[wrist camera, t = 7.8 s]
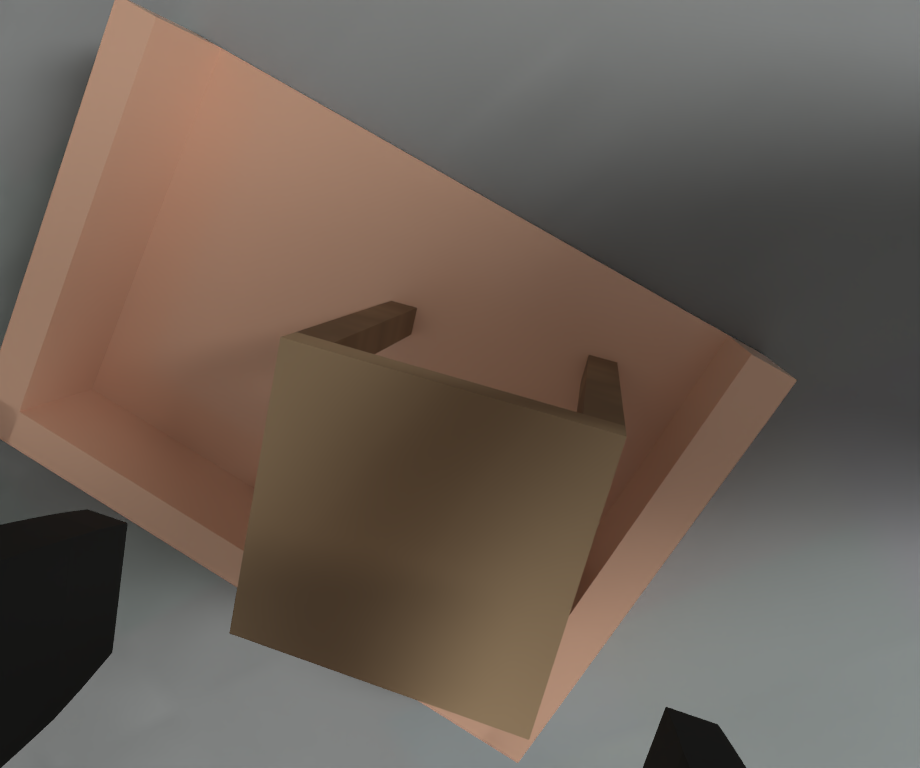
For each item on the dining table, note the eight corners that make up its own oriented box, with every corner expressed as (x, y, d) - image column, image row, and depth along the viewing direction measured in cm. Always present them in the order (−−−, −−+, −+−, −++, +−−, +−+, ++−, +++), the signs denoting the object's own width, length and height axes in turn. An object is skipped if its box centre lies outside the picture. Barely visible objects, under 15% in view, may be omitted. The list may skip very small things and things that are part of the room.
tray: (764, 354, 16) (797, 380, 13) (529, 688, 19) (517, 762, 16) (193, 32, 17) (116, -6, 14) (59, 398, 20) (-24, 423, 17)
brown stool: (616, 362, 16) (626, 436, 10) (552, 571, 18) (529, 740, 12) (391, 300, 17) (280, 336, 11) (347, 505, 19) (229, 633, 13)
